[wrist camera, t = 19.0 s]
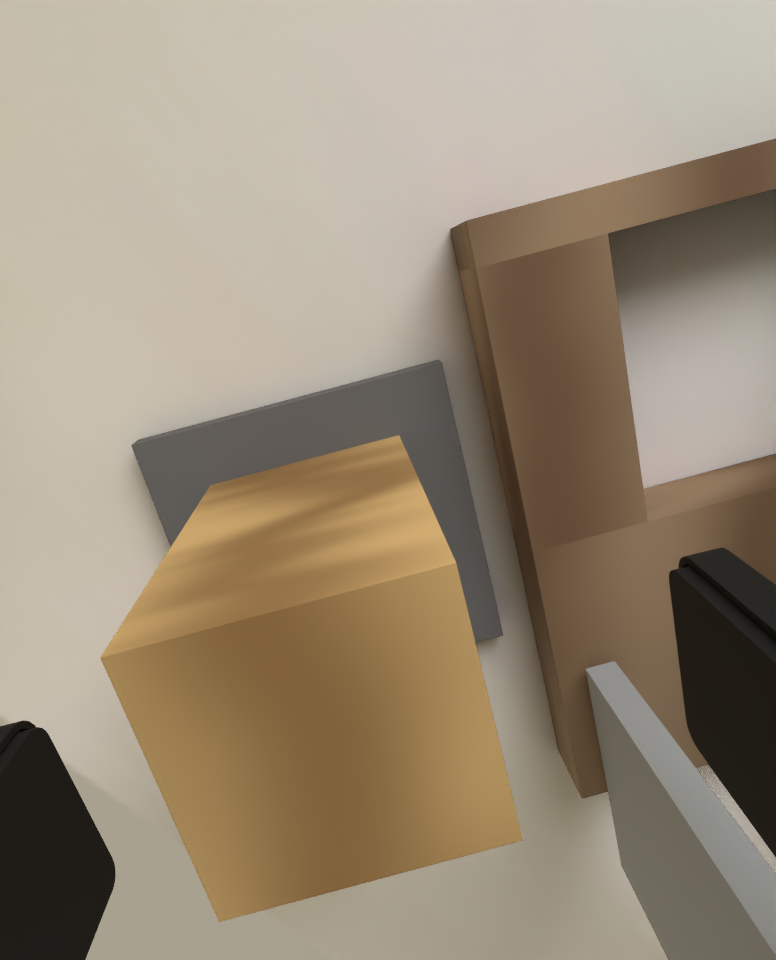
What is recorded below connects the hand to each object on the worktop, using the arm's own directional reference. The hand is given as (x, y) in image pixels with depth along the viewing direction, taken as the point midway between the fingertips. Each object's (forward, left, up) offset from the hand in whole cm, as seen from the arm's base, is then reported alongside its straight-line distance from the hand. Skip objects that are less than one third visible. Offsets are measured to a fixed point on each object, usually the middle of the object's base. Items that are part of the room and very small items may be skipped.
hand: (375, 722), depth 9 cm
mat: (+1, 0, -9) cm, 9 cm away
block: (+1, 0, -8) cm, 8 cm away
